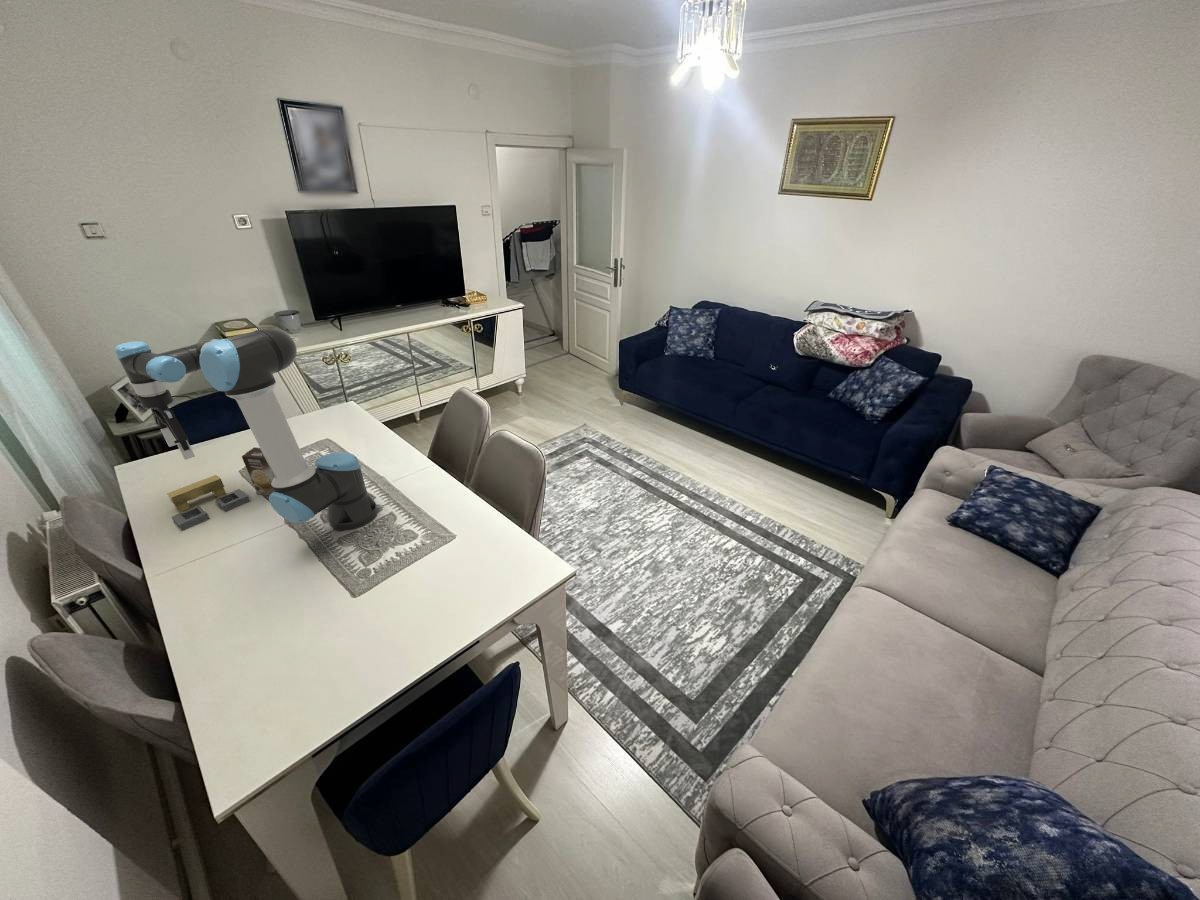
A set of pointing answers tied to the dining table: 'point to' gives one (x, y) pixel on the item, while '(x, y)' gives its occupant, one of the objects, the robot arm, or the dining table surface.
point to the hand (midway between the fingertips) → (181, 451)
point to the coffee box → (259, 471)
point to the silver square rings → (203, 516)
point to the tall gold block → (196, 492)
